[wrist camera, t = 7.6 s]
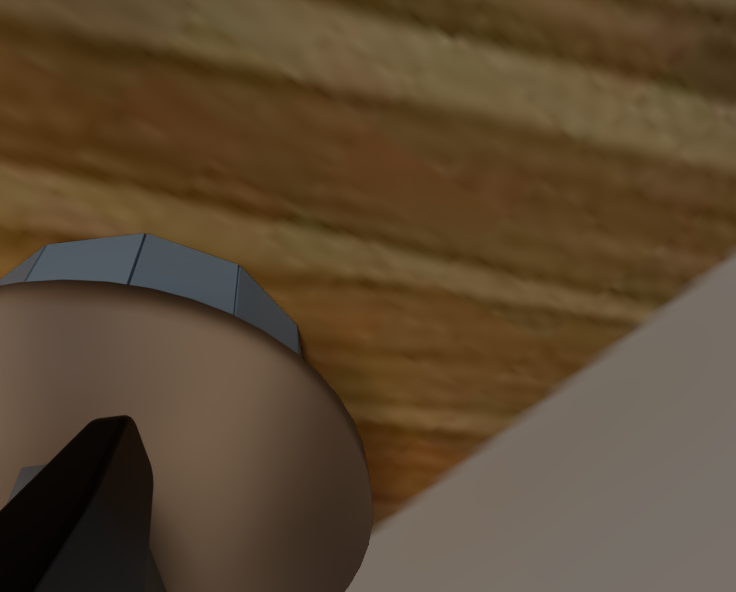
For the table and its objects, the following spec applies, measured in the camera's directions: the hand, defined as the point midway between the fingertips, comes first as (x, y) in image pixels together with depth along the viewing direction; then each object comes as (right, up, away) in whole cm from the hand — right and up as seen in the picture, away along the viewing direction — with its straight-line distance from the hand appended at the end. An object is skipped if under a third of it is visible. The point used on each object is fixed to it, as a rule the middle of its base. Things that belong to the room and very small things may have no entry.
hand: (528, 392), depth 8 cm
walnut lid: (-8, -4, +9) cm, 13 cm away
